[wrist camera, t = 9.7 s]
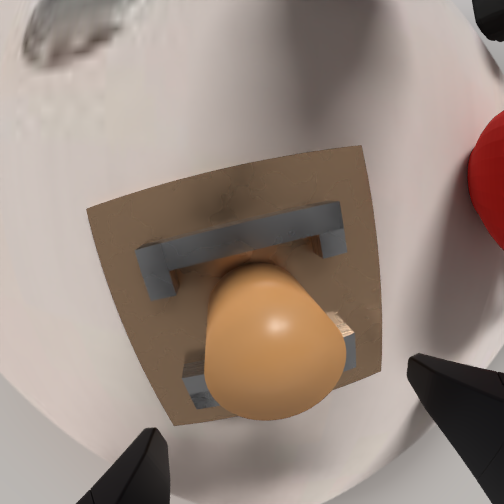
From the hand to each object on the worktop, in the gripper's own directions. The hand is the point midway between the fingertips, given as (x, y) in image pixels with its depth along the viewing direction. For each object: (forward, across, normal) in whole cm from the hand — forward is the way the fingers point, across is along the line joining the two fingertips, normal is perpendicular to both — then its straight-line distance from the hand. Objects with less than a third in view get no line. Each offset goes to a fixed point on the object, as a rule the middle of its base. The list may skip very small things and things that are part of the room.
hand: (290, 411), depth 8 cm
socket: (+9, 0, 0) cm, 9 cm away
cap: (+8, 0, 0) cm, 8 cm away
